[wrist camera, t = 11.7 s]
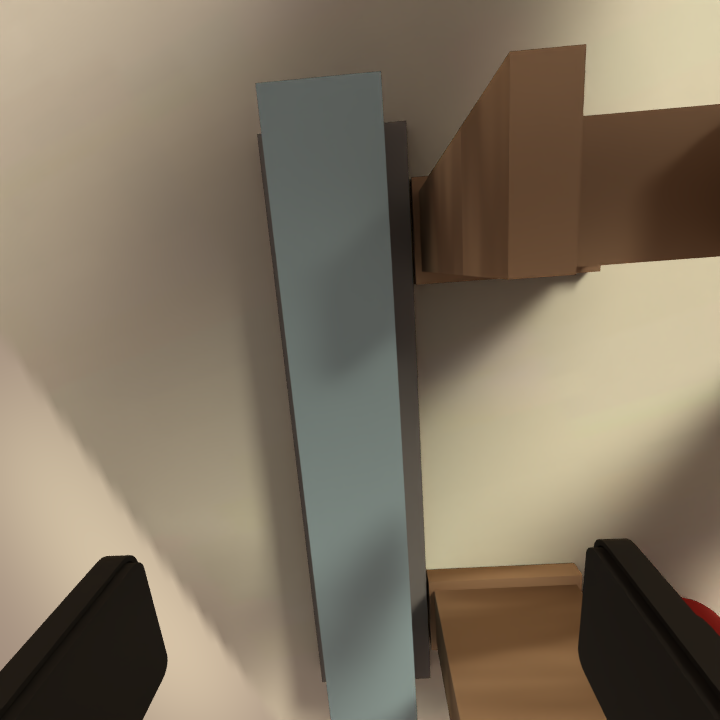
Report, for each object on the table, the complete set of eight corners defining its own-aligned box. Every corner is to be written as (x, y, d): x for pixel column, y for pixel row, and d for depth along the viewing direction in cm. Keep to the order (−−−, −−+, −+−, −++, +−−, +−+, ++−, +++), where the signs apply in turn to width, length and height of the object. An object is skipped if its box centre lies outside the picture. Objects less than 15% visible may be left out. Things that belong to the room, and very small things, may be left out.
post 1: (409, 181, 16) (490, 9, 5) (594, 165, 16) (1076, -49, 5) (414, 283, 17) (491, 314, 6) (589, 270, 17) (987, 278, 6)
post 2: (426, 569, 20) (492, 918, 9) (574, 563, 20) (816, 914, 9) (429, 635, 21) (491, 1023, 10) (570, 630, 21) (787, 1022, 10)
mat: (261, 139, 16) (257, 134, 15) (404, 126, 16) (406, 120, 15) (323, 670, 22) (322, 682, 21) (428, 666, 21) (430, 678, 21)
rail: (284, 130, 15) (255, 83, 11) (377, 121, 15) (380, 71, 11) (343, 680, 21) (337, 775, 17) (410, 677, 21) (420, 772, 17)
